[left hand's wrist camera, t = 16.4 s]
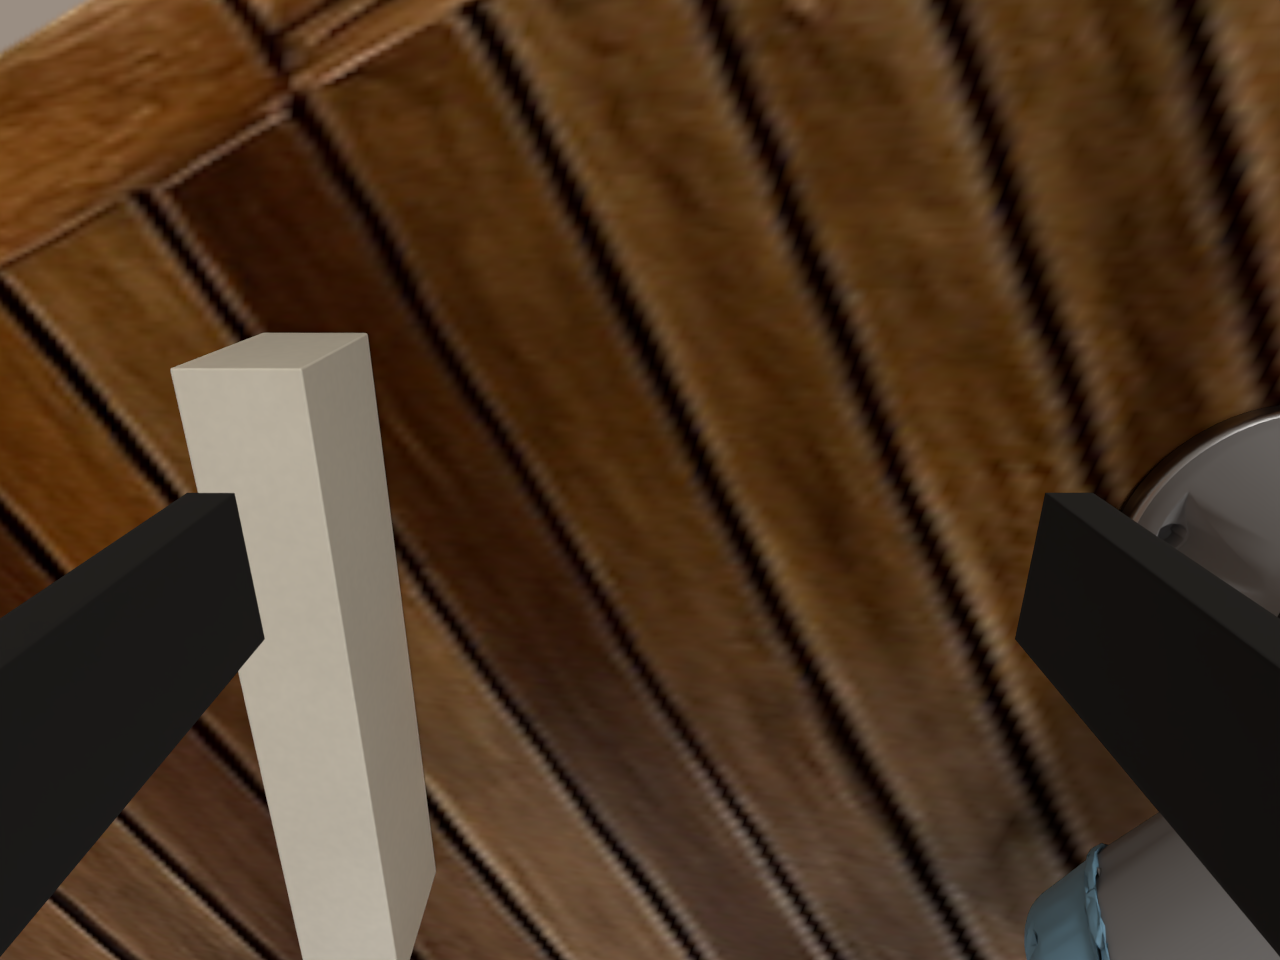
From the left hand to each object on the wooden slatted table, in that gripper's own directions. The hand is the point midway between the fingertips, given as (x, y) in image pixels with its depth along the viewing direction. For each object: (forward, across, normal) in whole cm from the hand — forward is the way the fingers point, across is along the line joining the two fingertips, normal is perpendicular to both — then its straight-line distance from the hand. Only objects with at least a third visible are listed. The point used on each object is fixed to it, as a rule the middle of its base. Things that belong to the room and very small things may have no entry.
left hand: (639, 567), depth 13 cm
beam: (+25, +15, +18) cm, 34 cm away
